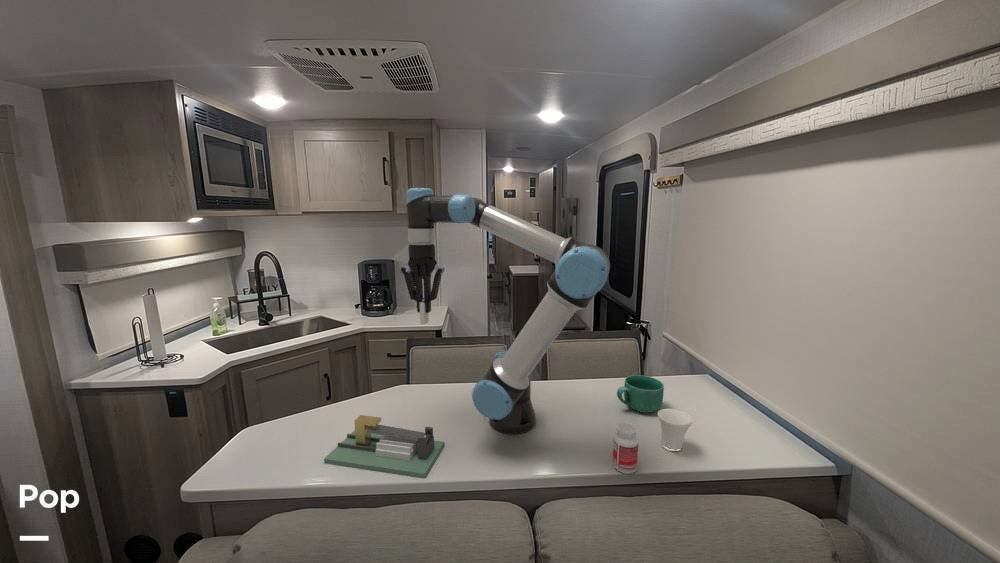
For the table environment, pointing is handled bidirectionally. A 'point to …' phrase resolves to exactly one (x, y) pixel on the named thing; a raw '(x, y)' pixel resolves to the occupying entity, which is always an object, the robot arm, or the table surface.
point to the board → (381, 461)
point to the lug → (364, 428)
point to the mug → (642, 393)
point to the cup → (673, 427)
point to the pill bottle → (625, 449)
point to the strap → (398, 432)
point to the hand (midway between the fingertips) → (424, 322)
